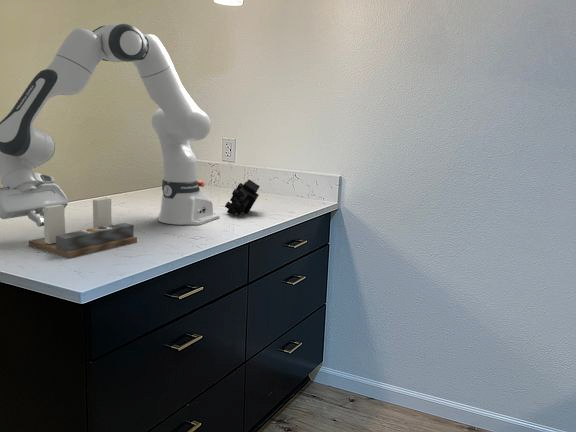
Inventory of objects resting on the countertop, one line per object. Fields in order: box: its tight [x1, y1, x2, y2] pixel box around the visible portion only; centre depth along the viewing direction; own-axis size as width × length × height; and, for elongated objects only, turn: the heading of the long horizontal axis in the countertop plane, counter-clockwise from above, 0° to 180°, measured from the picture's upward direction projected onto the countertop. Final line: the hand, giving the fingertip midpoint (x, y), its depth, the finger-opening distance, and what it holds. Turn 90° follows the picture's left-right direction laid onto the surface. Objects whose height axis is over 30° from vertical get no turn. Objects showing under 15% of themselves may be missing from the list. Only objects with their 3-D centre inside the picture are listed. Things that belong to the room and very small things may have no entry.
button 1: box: [43, 205, 66, 244], centre depth 157 cm, size 5×2×10 cm, turn 147°
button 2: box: [92, 197, 113, 228], centre depth 170 cm, size 5×2×10 cm, turn 147°
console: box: [27, 222, 138, 259], centre depth 163 cm, size 23×18×6 cm
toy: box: [224, 179, 261, 217], centre depth 214 cm, size 12×8×15 cm
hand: (44, 224), depth 160 cm, fingers closed
